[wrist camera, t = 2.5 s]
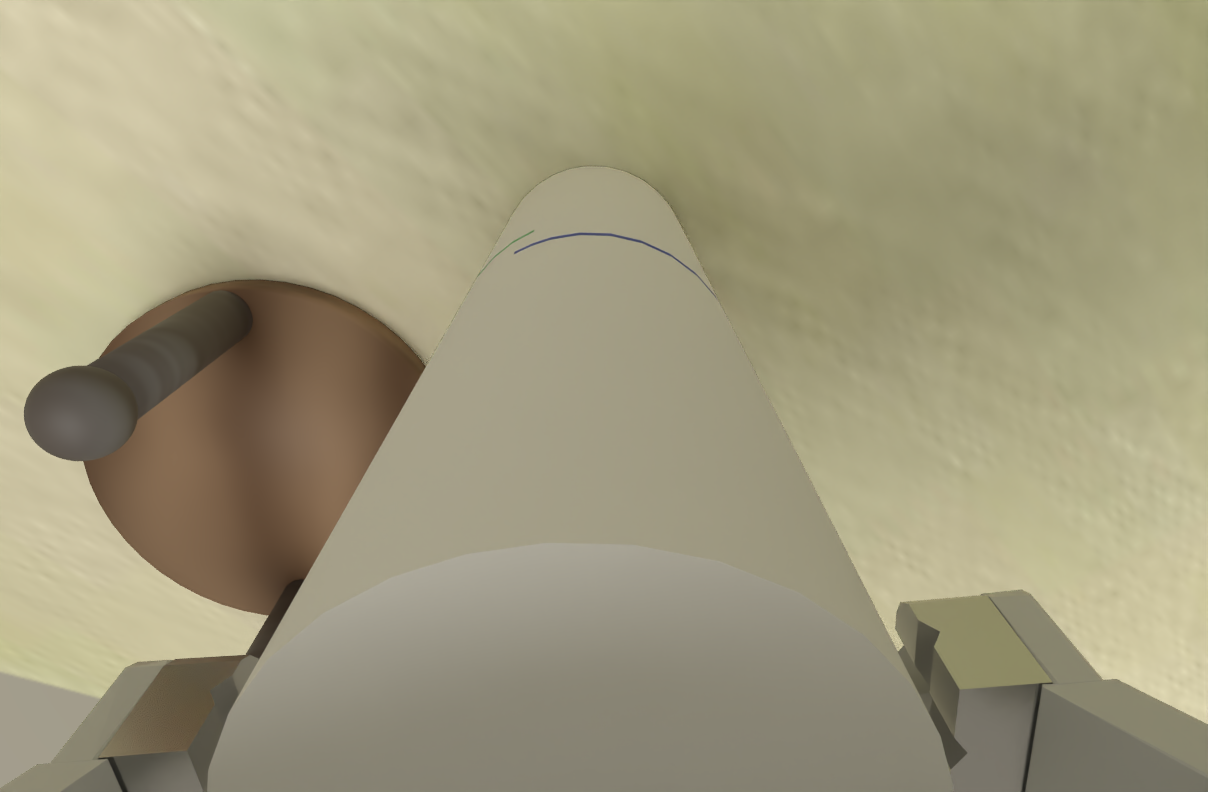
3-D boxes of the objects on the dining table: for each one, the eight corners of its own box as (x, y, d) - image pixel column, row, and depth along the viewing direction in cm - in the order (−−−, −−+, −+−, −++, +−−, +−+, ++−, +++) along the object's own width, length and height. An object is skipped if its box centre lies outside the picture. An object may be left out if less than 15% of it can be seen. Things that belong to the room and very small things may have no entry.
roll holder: (424, 255, 31) (328, 361, 20) (483, 588, 37) (435, 810, 26) (45, 289, 31) (-254, 412, 20) (165, 613, 37) (-14, 842, 26)
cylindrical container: (702, 324, 32) (980, 1016, 9) (531, 366, 32) (367, 1113, 9) (663, 143, 29) (914, 452, 6) (477, 193, 30) (59, 645, 7)
